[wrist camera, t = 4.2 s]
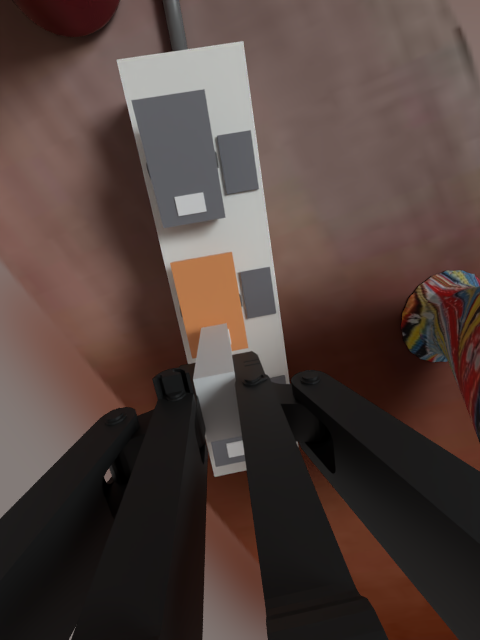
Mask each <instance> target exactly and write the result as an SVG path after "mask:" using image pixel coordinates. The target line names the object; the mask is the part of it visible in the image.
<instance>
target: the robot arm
mask: <svg viewBox="0 0 480 640" xmlns="http://www.w3.org/2000/svg"><path fill="white" fill-rule="evenodd" d="M152 380H153V383H154V387H155V391H156V394H157V398H158V401H157V404H156V407H155V409H154V410H151V411H149V412H147V413H144V414H141V415H139V416H137V414H136V411H135V409H133V408H130V407H125V408H118V409H116V410H112V411H110V412H109V413H107V414H105V415H104V416H103V417H101V418H100V419H99V420H98V421H97V422H96V423H95V424H94V425H93V426H92V427H91V428H90V429H89V430H88V431H87V432H86V433H85V434H84V435H83V436H82V437H81V438H80V439H79V440H78V441H77V442H76V443H75V444H74V445H73V446H72V447H71V448H70V449H69V450H68V451H67V452H66V453H65V454H64V455H63V456H62V457H61V458H60V459H59V460H58V461H57V462H56V463H55V464H54V465H53V466H52V467H51V468H50V469H49V470H48V471H47V472H46V473H45V474H44V475H43V476H42V477H41V478H40V479H39V480H38V481H37V482H36V483H35V484H34V485H33V486H32V487H31V488H30V489H29V490H28V491H27V492H26V493H25V494H24V495H23V496H22V497H21V498H20V499H19V500H18V501H17V502H16V503H15V504H14V506H13V507H11V509H10V510H9V511H7V512H6V513H5V515H3V517H2V518H1V519H0V640H69V638H70V636H71V634H72V632H73V630H74V629H75V631H74V633H73V636H72V639H71V640H202V632H203V599H204V596H203V595H204V565H205V564H204V563H205V528H206V496H207V462H208V451H207V446H206V442H205V433H206V437H207V441H208V443H209V442H214V441H219V440H223V439H228V438H233V437H238V436H242V440H243V448H244V455H245V462H246V469H247V477H248V484H249V491H250V498H251V505H252V513H253V520H254V527H255V534H256V542H257V549H258V556H259V563H260V570H261V577H262V585H263V592H264V599H265V607H266V616H267V617H266V626H267V636H268V640H388V638H387V636H386V633H385V631H384V629H383V627H382V625H381V623H380V621H379V619H378V616H377V614H376V612H375V610H374V608H373V607H372V605H371V604H370V602H369V601H368V599H367V598H365V597H363V596H361V595H360V594H359V592H358V591H357V589H356V587H355V584H354V582H353V580H352V578H351V575H350V573H349V570H348V568H347V565H346V563H345V561H344V558H343V556H342V553H341V551H340V548H339V546H338V543H337V541H336V539H335V536H334V534H333V531H332V529H331V526H330V524H329V521H328V519H327V517H326V514H325V512H324V509H323V507H322V504H321V502H320V499H319V497H318V495H317V492H316V490H315V487H314V485H313V482H312V480H311V477H310V475H309V472H308V470H307V468H306V465H305V463H304V460H303V458H302V455H301V453H300V450H299V448H298V446H297V443H296V442H299V444H300V446H301V448H302V450H303V451H304V452H305V453H306V454H307V456H308V457H309V458H310V459H311V460H312V462H313V463H314V464H315V465H316V467H317V468H318V469H319V470H320V471H321V473H322V474H323V475H324V476H325V477H326V479H327V480H328V481H329V482H330V484H331V485H332V486H333V487H334V488H335V490H336V491H337V492H338V493H339V494H340V496H341V497H342V498H343V499H344V501H345V502H346V503H347V504H348V505H349V507H350V508H351V509H352V510H353V511H354V513H355V514H356V515H357V516H358V518H359V519H360V520H361V521H362V522H363V524H364V525H365V526H366V527H367V528H368V530H369V531H370V532H371V533H372V535H373V536H374V537H375V538H376V539H377V541H378V542H379V543H380V544H381V545H382V547H383V548H384V549H385V550H386V551H387V553H388V554H389V555H390V556H391V558H392V559H393V560H394V561H395V562H396V564H397V565H398V566H399V567H400V568H401V570H402V571H403V572H404V573H405V575H406V576H407V577H408V578H409V579H410V581H411V582H412V583H413V584H414V585H415V587H416V588H417V589H418V590H419V592H420V593H421V594H422V595H423V596H424V598H425V599H426V600H427V601H428V602H429V604H430V605H431V606H432V607H433V609H434V610H435V611H436V612H437V613H438V615H439V616H440V617H441V618H442V619H443V621H444V622H445V623H446V624H447V626H448V627H449V628H450V629H451V630H452V632H453V633H454V634H455V635H456V636H457V638H458V639H459V640H480V472H479V471H478V470H476V469H475V468H473V467H472V466H470V465H468V464H467V463H465V462H464V461H462V460H461V459H459V458H457V457H456V456H454V455H453V454H451V453H450V452H448V451H446V450H445V449H443V448H442V447H440V446H439V445H437V444H436V443H434V442H432V441H431V440H429V439H428V438H426V437H425V436H423V435H421V434H420V433H418V432H417V431H415V430H414V429H412V428H410V427H409V426H407V425H406V424H404V423H403V422H401V421H400V420H398V419H396V418H395V417H393V416H392V415H390V414H389V413H387V412H385V411H384V410H382V409H381V408H379V407H378V406H376V405H374V404H373V403H371V402H370V401H368V400H367V399H365V398H363V397H362V396H360V395H359V394H357V393H356V392H354V391H353V390H351V389H349V388H348V387H346V386H345V385H343V384H342V383H340V382H338V381H337V380H335V379H334V378H332V377H331V376H329V375H327V374H326V373H323V372H321V371H315V370H310V371H309V370H306V371H303V372H299V373H297V374H295V375H294V376H293V377H292V379H291V384H278V383H274V382H271V380H270V377H269V376H268V375H266V374H265V372H264V370H263V367H262V364H261V362H260V360H259V357H258V354H256V353H254V352H253V351H250V352H244V353H239V354H234V355H232V349H231V344H230V339H229V334H228V328H227V323H225V324H219V325H214V326H209V327H203V328H201V333H200V339H199V345H198V351H197V357H196V363H191V364H186V365H181V366H180V367H179V368H172V369H168V370H165V371H163V372H161V373H159V374H158V375H156V376H155V377H154V378H153V379H152ZM108 469H110V471H111V474H112V477H111V478H110V480H109V481H108V482H107V483H106V481H105V479H104V475H105V474H106V472H107V470H108ZM75 627H76V628H75Z"/></svg>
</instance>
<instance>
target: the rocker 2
mask: <svg viewBox="0 0 480 640" xmlns="http://www.w3.org/2000/svg"><path fill="white" fill-rule="evenodd" d="M211 445H212V450H213V455H214V460H215V465H216V467H219V466H224V465H228V464H233V463H238V462H243V461H245V455H244V448H243V440H242V436H238V437H233V438H228V439H223V440H219V441H214V442H211Z"/></svg>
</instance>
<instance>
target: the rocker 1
mask: <svg viewBox="0 0 480 640" xmlns="http://www.w3.org/2000/svg"><path fill="white" fill-rule="evenodd" d="M131 102H132V106H133V110H134V113H135V117H136V121H137V125H138V129H139V133H140V137H141V141H142V145H143V149H144V153H145V157H146V161H147V163H146V165H147V170H148V174H149V176H150V179H151V181H152V185H153V189H154V193H155V197H156V200H157V204H158V208H159V212H160V216H161V220H162V224H163V228H168V227H174V226H180V225H186V224H191V223H197V222H203V221H209V220H215V219H221V218H226V217H225V211H224V205H223V199H222V193H221V187H220V180H219V174H218V168H219V165H218V158H217V153H216V151H215V150H214V144H213V138H212V132H211V126H210V120H209V113H208V107H207V101H206V95H205V89H203V90H196V91H189V92H183V93H176V94H170V95H163V96H157V97H150V98H143V99H137V100H131Z"/></svg>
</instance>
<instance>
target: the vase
mask: <svg viewBox="0 0 480 640" xmlns="http://www.w3.org/2000/svg"><path fill="white" fill-rule="evenodd" d="M401 330H402V334H403V341H404V342H405V344H406V345H407V346H408V348H409V350H410V352H412V353H413V354H415V355H416V356H417V357H419V358H420V359H423V360H428V361H430V362H439V361H444V362H446V361H448V362H449V364H450V367H451V369H452V372H453V374H454V377H455V379H456V381H457V384H458V386H459V389H460V391H461V394H462V396H463V399H464V401H465V404H466V407H467V410H468V412H469V415H470V418H471V420H472V423H473V426H474V428H475V431H476V434H477V437H478V439H479V442H480V280H479V279H478V278H477V277H476V276H475V275H474V274H470V273H467V272H465V271H462V270H458V271H445V272H443V273H440V274H437V275H434V276H431V277H430V278H429V279H428V280H427V281H425V282H424V283H422V284H421V285H419V286H418V288H417V289H416V291H415V292H414V293H413V294H412V295H411V296H410V298H409V299H408V302H407V305H406V307H405V309H404V311H403V313H402V323H401Z"/></svg>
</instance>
